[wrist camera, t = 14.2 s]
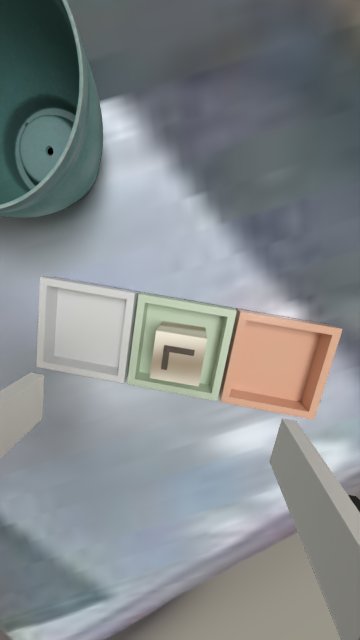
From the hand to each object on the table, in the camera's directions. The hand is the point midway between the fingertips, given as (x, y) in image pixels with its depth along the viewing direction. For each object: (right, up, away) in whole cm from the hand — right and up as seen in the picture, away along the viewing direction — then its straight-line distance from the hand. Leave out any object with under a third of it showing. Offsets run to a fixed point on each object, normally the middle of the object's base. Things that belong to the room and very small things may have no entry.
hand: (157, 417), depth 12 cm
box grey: (-10, +4, +16) cm, 19 cm away
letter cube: (+1, +2, +15) cm, 15 cm away
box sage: (+1, +3, +15) cm, 16 cm away
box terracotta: (+12, +1, +15) cm, 19 cm away
